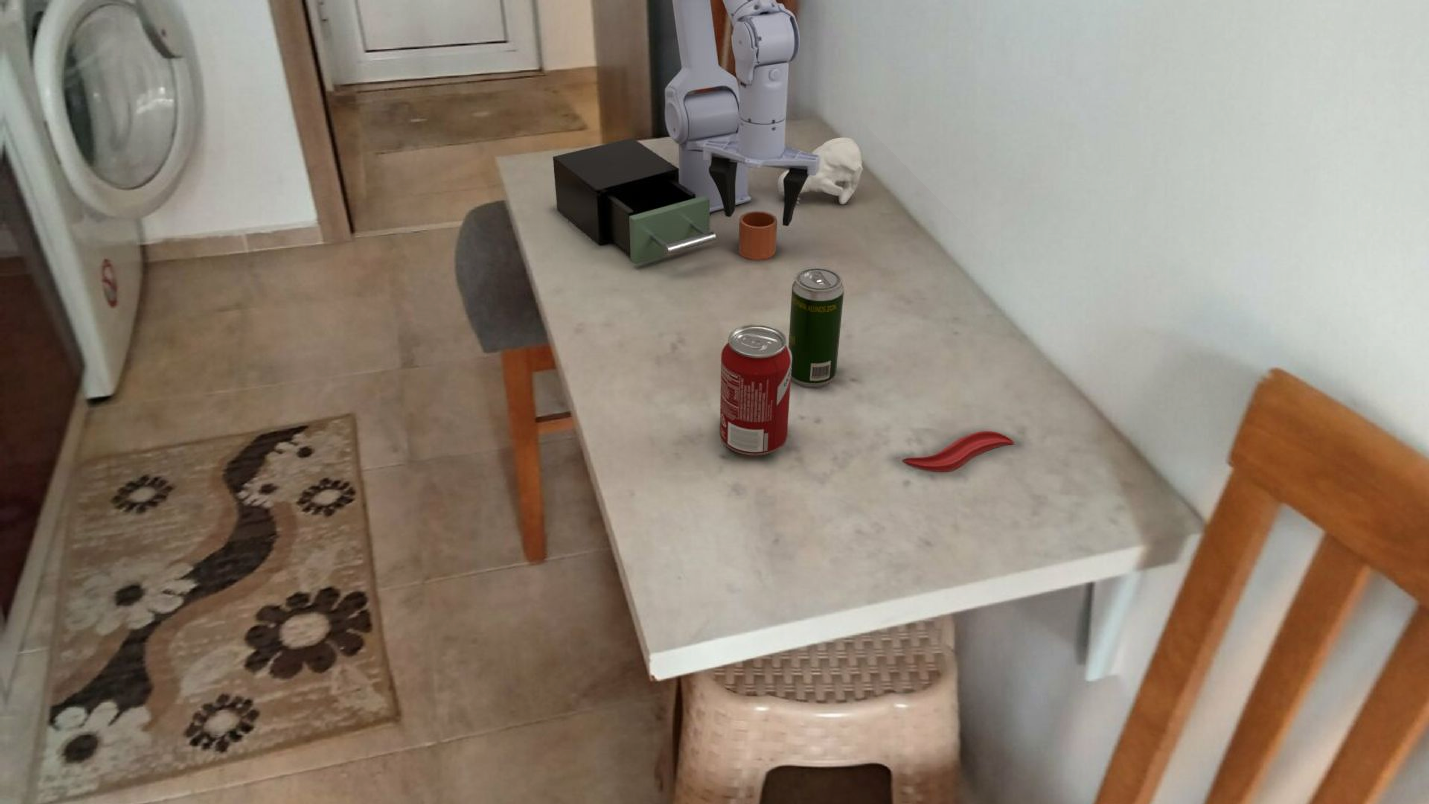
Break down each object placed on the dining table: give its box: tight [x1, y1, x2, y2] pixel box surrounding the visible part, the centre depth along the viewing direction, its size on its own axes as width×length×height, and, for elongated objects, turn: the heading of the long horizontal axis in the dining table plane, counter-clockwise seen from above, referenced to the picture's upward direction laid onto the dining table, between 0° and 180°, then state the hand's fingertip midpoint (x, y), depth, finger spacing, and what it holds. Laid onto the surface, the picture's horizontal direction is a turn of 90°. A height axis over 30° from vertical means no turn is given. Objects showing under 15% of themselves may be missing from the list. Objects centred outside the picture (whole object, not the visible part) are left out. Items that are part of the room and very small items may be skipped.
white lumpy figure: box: [777, 137, 864, 205], centre depth 151 cm, size 6×8×12 cm
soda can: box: [719, 323, 792, 456], centre depth 105 cm, size 7×7×12 cm
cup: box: [738, 210, 778, 261], centre depth 139 cm, size 5×5×5 cm
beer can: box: [787, 267, 845, 388], centre depth 114 cm, size 5×5×12 cm
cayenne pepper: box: [902, 430, 1015, 472], centre depth 106 cm, size 12×5×2 cm, turn 99°
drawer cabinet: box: [552, 137, 679, 246], centre depth 146 cm, size 12×12×8 cm
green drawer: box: [601, 176, 717, 266], centre depth 138 cm, size 16×11×6 cm
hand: (758, 218), depth 138 cm, fingers open, 7 cm apart
